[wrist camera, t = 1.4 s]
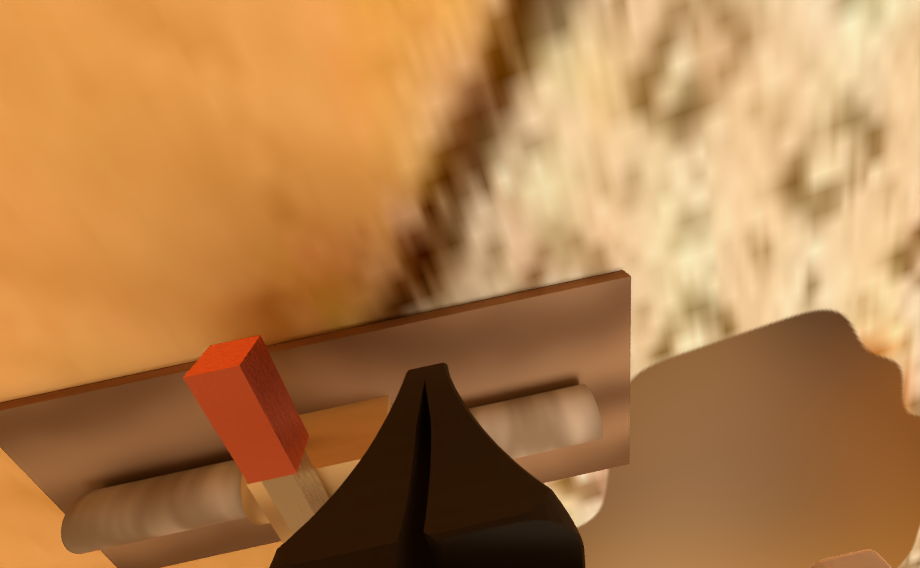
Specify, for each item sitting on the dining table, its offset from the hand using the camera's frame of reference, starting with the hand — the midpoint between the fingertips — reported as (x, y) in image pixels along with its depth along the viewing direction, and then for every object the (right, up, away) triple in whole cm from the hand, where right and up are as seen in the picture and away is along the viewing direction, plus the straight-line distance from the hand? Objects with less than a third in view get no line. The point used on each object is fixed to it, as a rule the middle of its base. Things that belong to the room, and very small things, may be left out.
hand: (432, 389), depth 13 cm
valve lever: (-6, -3, +3) cm, 8 cm away
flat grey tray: (-6, -5, +10) cm, 13 cm away
